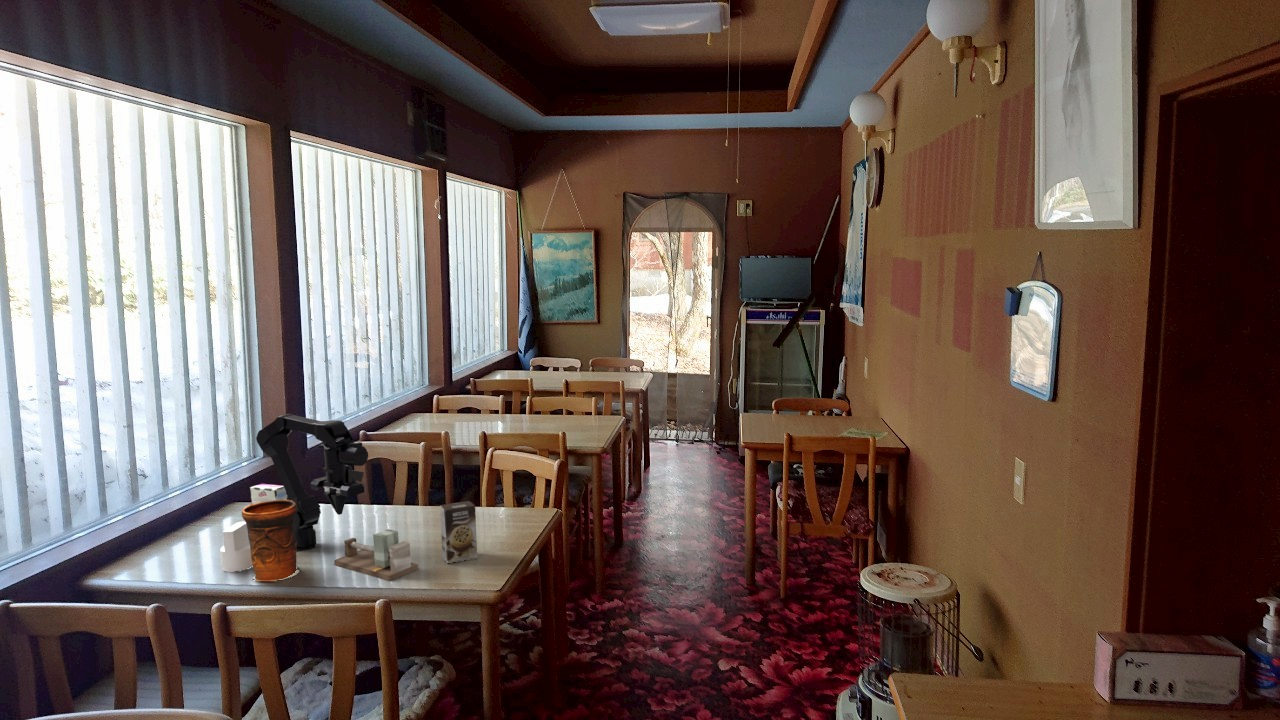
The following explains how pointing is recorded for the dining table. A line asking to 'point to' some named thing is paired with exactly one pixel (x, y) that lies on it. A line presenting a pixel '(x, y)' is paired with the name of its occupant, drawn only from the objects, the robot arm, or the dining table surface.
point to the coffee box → (458, 531)
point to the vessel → (272, 538)
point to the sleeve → (384, 546)
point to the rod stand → (366, 560)
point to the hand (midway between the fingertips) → (339, 514)
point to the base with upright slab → (236, 548)
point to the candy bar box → (267, 493)
